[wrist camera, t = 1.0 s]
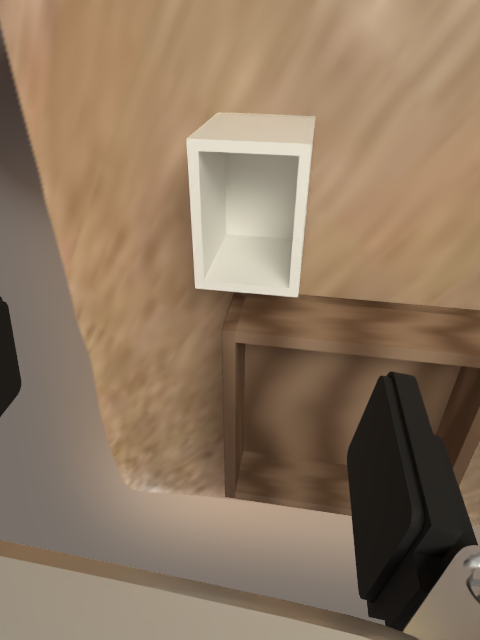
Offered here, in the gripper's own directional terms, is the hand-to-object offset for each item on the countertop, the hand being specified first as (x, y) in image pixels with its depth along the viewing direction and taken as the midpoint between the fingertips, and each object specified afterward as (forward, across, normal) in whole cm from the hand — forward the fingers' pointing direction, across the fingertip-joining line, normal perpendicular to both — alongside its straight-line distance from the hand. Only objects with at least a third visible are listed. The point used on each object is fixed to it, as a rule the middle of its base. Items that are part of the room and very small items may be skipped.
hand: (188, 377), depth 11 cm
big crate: (+24, -11, +20) cm, 33 cm away
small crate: (+24, 0, +2) cm, 24 cm away
